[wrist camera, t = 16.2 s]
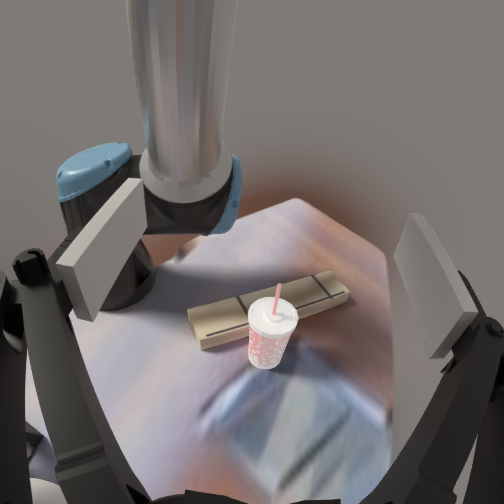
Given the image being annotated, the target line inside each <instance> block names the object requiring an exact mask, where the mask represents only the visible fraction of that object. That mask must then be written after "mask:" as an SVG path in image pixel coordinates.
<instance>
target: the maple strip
mask: <svg viewBox="0 0 504 504" xmlns="http://www.w3.org/2000/svg"><path fill="white" fill-rule="evenodd" d="M276 289H277V286H273V287H270V288H266V289H262V290H259V291H255V292H251V293H248V294H244V295H240V296H239V295H238V296H236V297H233V298H229V299H225V300H221V301H217V302H213V303H210V304H206V305H202V306H198V307H194V308H190V309H187V313H188V321H189V323H190V326H191V328H192V331H193V333H194V335H195V338H196V340H197V342H198V345H199V347H200V349H201V350H204V349H208V348H211V347H215V346H218V345H221V344H225V343H228V342H231V341H235V340H238V339H241V338H244V337H248V336H249V326H250V324H249V322H248V311H249V308H250V306H251V304H253V303H254V302H255V301H256V300H258V299H261V298H264V297H275V294H276ZM349 294H350V291H349V290H348V289H347V288H346V287H345V286H344V285H343V283H342V282H341V281H340V280H339V279H338V278H337V277H336V276H335V275H334V274H333V273H332V272H331V270H329V271H326V272H322V273H319V274H316V275H311V276H309V277H305V278H302V279H298V280H295V281H291V282H288V283H284V284H282V286H281V291H280V295H279V298H280V299H284V300H286V301H287V302H289V303H290V304H292V305H293V307H294V308H295V309H296V310H297V314H298V320H299V319H302V318H305V317H308V316H310V315H313V314H316V313H319V312H321V311H324V310H327V309H330V308H332V307H335V306H338V305H340V304H343V303H346V301H347V299H348V297H349Z"/></svg>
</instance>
